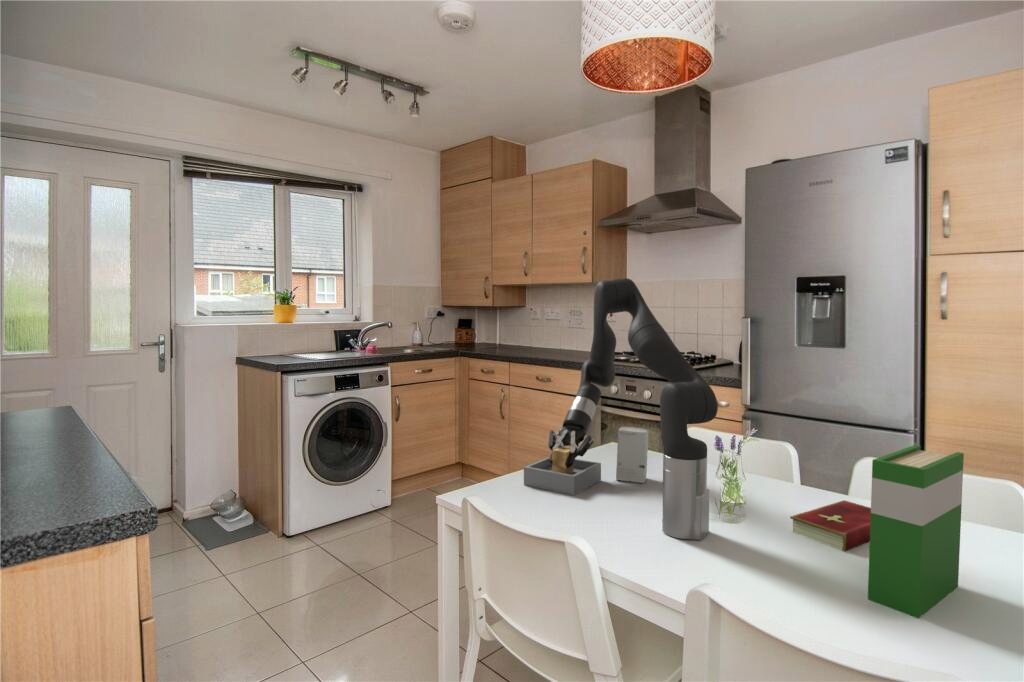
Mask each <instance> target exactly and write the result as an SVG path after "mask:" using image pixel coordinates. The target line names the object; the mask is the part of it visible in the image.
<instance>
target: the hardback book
mask: <svg viewBox="0 0 1024 682" xmlns="http://www.w3.org/2000/svg"><path fill="white" fill-rule="evenodd" d="M964 456H965V453H964V452H958V451H957V452H954V453H952V454H945V453H938V452H933V451H927V450H921V445H917V444H914V445H911V446H908V447H904V448H902V449H900V450H899V449H898V450H897V451H894V452H891V453H887V454H885V455H882V456H880V457H877V458H873V459H872V465H871V466H872V467H871V468H872V469H871V493H870V495H871V496H870V497H871V498H870V508H871V520H870V542H869V550H868V551H869V552H868V553H869V554H868V555H869V556H868V584H867V585H868V586H867V600H868V601H871V602H872V603H873V602H874V603H877V604H879V605H882V606H885V607H887V608H890V609H892V610H895V611H898V612H899V613H900V612H901V613H903V614H906V615H907V616H908V615H909V616H910V617H912V618H915V619H920V618H922V617H923V616H924V615H925V614H926V613H928V612H929V611H930V610H932V608H934V607H935V606H936V605H938V604H939V603H940V602H941V601H942V600H944V599H945V598H946V597H947V596H949V594H951V593H953V591H955V590H956V589H958V587H959V575H960V573H959V572H960V571H959V570H960V550H961V549H960V548H961V547H960V546H961V530H962V529H961V527H962V525H961V524H962V502H963V500H962V499H963V478H964V477H963V476H964V460H965V459H964Z"/></svg>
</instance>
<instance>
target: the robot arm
mask: <svg viewBox="0 0 1024 682" xmlns="http://www.w3.org/2000/svg"><path fill="white" fill-rule="evenodd" d="M625 312H626V313H628V314H630V315H631V317H632V318H631V319H632V320H631V322H630V325H629V329H628V332H627V333H628V334H627V342H628V344H629V346H630V348H631V350H632V352H633V354H634V355H635V357H636V358H637V360H638V361H639V362H640V363H641V364H642V365H643V366H644V367H646V368H647V369H649V370H650V371H652V372H654V373H655V374H656V375H658V376H660V377H662V378H663V379H665V380H666V381H668V382H669V383H666V384H665V385H664V386H663V388H662V389H661V392H660V397H659V412H660V413H659V414H660V415H659V417H660V438H661V442H662V449H663V450H662V451H663V452H662V453H663V454H662V520H661V521H662V522H661V523H662V525H661V526H662V532H663V533H664V534H666V535H667V536H670V537H672V538H676V539H682V540H697V541H702V540H703V538H704V537H706V535H707V534H708V533H709V532H710V489H709V488H707V487H708V486H707V483H708V482H707V480H708V477H707V475H708V474H707V473H708V445H707V444H706V442H704V441H703V440H701V439H698V438H694V437H692V436H690V435H689V433H688V432H689V431H688V425H699V424H705V423H709V422H711V421H713V420H714V419H715V418H716V417H717V414H718V409H719V404H718V400H717V397H716V395H715V392H714V390H713V389H712V387H711V386H710V384H709V383H708V382H707V381H706V380H705V379H704V378H703V377H702V376H701V374H700V373H699V372H698V371H697V370H696V369H695V368H694V367H693V366H692V365H691V364H690V363H689V361H688V360H687V359H686V357H685V356H684V354H682V352H681V351H680V350H679V348H677V346H676V345H675V344H674V341H673V340H672V338H671V337H670V336H669V334H668V333H667V332H666V330H665V329H664V327H663V326H662V325H661V323H660V322H659V321H658V320H657V318H656V317H655V315H654V314H653V312H652V311H651V310H650V308H649V306H648V304H647V302H646V301H645V299H644V297H643V296H642V294H641V292H640V289H639V288H638V287H637V284H636V283H635V282H634V281H633V280H632V279H630V278H627V277H619V278H614V279H613V278H612V279H604V280H600V281H599V282H598V283H596V286H595V288H594V294H593V335H592V343H591V347H590V352H589V356H590V357H589V358H590V359H587V360H585V361H584V362H583V364H582V366H581V369H580V370H581V371H580V383H579V387H578V390H577V393H576V394H575V397H574V399H573V401H572V403H571V404H570V406H569V409H568V411H567V413H566V415H565V418H564V420H563V423H562V426H561V428H560V429H559V430H556V431H555V430H553V429H551V430H550V431H549V435H548V436H549V437H548V444H547V447H548V448H549V450H550V452H551V453H550V456H549V457H550V458H549V461H550V463H551V465H552V450H554V449H557V448H559V447H562V448H567V447H570V449H571V453H569V455H568V458H567V460H566V462H565V466H566V467H567V468H570V466H572V465H573V463H574V460H575V459H577V457H583V456H585V454H586V453H587V452H588V450H589V449H590V447H592V445H593V444H594V439H593V438H592V436H591V435H587V434H588V431H589V430H590V426H591V424H592V422H593V420H594V416H595V413H596V409H597V407H598V404H599V402H600V400H601V397H602V391H601V390H600V388H599V387H598V386H600V387H604V388H607V387H610V386H611V385H613V383H614V381H615V379H616V369H615V368H616V367H615V363H614V362H615V361H614V356H615V352H616V348H617V347H616V346H617V337H616V334H615V332H614V330H613V329H612V328H611V326H610V325H609V323H608V321H607V317H608V315H609V314H616V313H625ZM596 385H597V386H596ZM580 443H581V444H580Z"/></svg>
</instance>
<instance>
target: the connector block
mask: <svg viewBox="0 0 1024 682" xmlns="http://www.w3.org/2000/svg"><path fill="white" fill-rule="evenodd" d="M551 453H552V471H553V472H559V473H564V474H569V475H573V467H574V463H573V465H572V466H570V468H567V467H566V466H565V462H566V460H567V458H568V455H569V453H571V448H568V447H565V448H562V447H559V448H557V449H554V450H552V451H551Z"/></svg>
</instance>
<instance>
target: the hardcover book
mask: <svg viewBox="0 0 1024 682" xmlns="http://www.w3.org/2000/svg"><path fill="white" fill-rule="evenodd" d="M789 519H790V520H792V533H793V534H796V535H800V536H801V535H802V536H801V537H804V536H805V537H804V538H807V539H810V540H812V539H813V541H815V542H818V541H819V542H818V543H822V544H825V545H826V544H827V546H829V545H830V547H833V548H835V549H838V550H841V552H843V551H844V552H847V551H849V550H851V549H855V548H857V547H860V546H862V545H865V544H867V543H870V542H869V541H870V520H871V506H870V507H869V506H866V505H863V504H859V503H856V502H852V501H848V500H845V499H844V500H840V501H837V502H833V503H830V504H827V505H824V506H821V507H817V508H814V509H810V510H807V511H804V512H801V513H797V514H794V515H790V516H789ZM864 543H865V544H864Z"/></svg>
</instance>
